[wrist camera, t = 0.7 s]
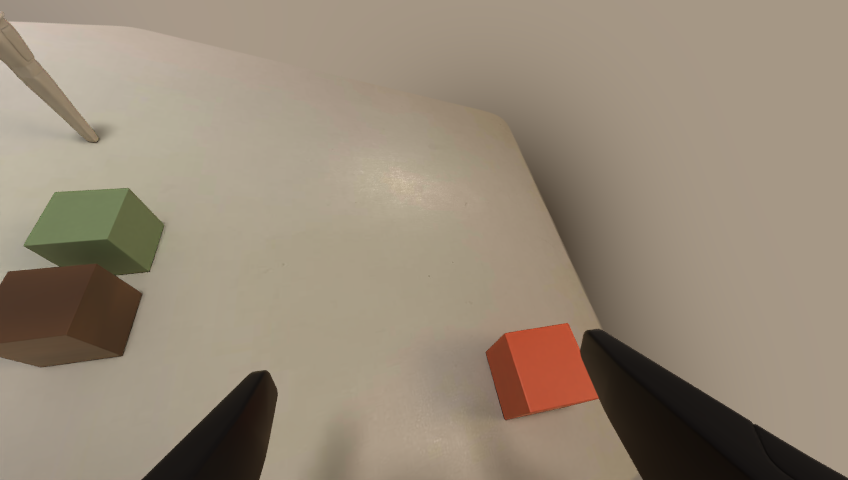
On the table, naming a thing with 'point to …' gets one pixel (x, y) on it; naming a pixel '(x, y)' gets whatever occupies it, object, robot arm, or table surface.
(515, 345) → the terracotta block
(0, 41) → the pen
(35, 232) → the sage block
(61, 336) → the walnut block
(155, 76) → the table surface
